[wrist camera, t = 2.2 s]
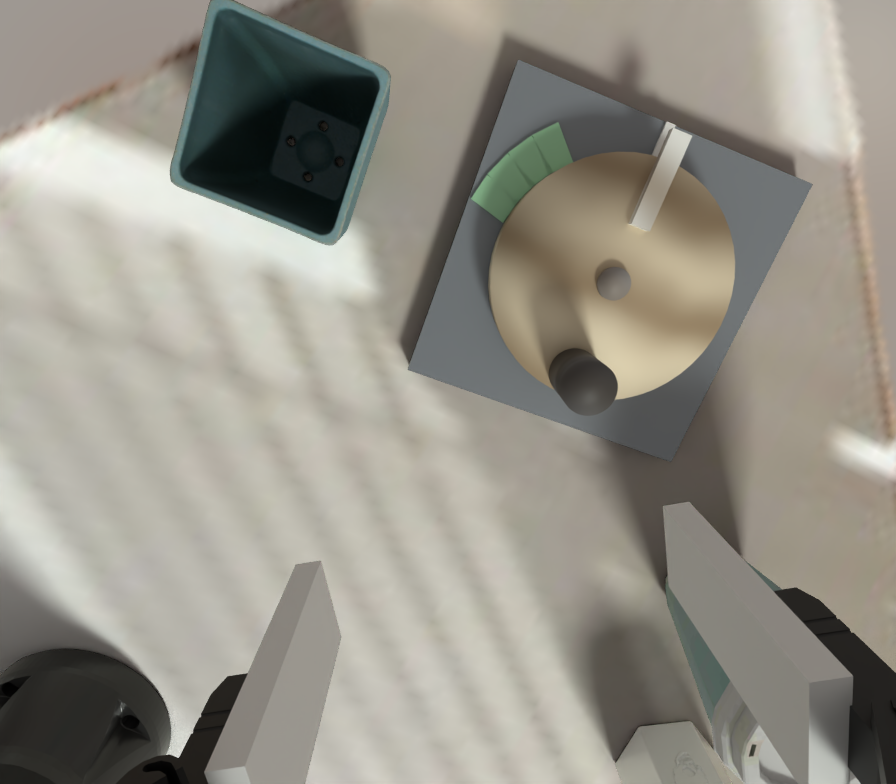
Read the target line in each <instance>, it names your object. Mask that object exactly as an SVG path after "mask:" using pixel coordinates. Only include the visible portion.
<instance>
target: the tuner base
mask: <svg viewBox="0 0 896 784" xmlns="http://www.w3.org/2000/svg"><path fill="white" fill-rule="evenodd" d="M672 128H675V129H678V130H680V131H682V132H685V133H687V134H689V135H692V138H691V140H690V142H689V145H688V147H687V149H686V151H685V154H684V156H683V158H682V160H681V163H680V165H679V166H680V167H681V168H683V169H684V170H686V171H687V172H689V173H690V174H691V175H693V176H694V177H695V178H696V179H697V180H698V181H700V182H701V183H702V184H703V185H704V186H705V187H706V188H707V190H708V191H709V192H710V193H711V195H712V196H713V197H714V199H715V200H716V201H717V203H718V205H719V207H720V209H721V210H722V212H723V214H724V216H725V219H726V221H727V224H728V226H729V229H730V233H731V237H732V241H733V245H734V255H735V279H734V285H733V291H732V296H731V299H730V303H729V306H728V310H727V312H726V315H725V317H724V319H723V322H722V324H721V326H720V328H719V329H718V331H717V333H716V335H715V336H714V338H713V340H712V341H711V342H710V344H709V345H708V346H707V348H706V349H705V350H704V352H703V353H702V354H701V355H700V356H699V357H698V358H697V359H696V360H695V361H694V362H693V364H691V365H690V366H689V367H688V368H687V369H686V370H684V371H683V372H682V373H681V374H679V375H678V376H676V377H675V378H673V379H672V380H670V381H669V382H667V383H666V384H664V385H662V386H660V387H658V388H656V389H654V390H651V391H649V392H646V393H643V394H640V395H637V396H633V397H629V398H624V399H616V400H614V402H613V403H612V404H611V406H610V407H609V408H608V409H606V410H605V411H603V412H602V413H599V414H597V415H592V416H584V415H579V414H577V413H575V412H573V411H572V410H570V409H569V408H568V407H567V405H566V404H565V403H564V401H563V400H562V399H561V397H560V396H559V395H558V393H557V392H556V391H555V390H554V389H552V388H550V387H548V386H547V385H545V384H543V383H542V382H540V381H538V380H537V379H536V378H535V377H533V376H532V375H531V374H530V373H529V372H527V371H526V370H525V369H524V368H523V367H522V365H521V364H520V363H519V362H518V361H517V360H516V359H515V357H514V356H513V355H512V353H511V352H510V350H509V349H508V347H507V346H506V344H505V342H504V341H503V339H502V337H501V335H500V333H499V331H498V329H497V326H496V324H495V321H494V318H493V315H492V311H491V306H490V301H489V290H488V277H489V266H490V261H491V255H492V252H493V248H494V245H495V242H496V239H497V237H498V234H499V232H500V230H501V228H502V226H503V224H504V222H505V220H506V219H507V217H508V216H509V214H510V212H511V211H512V209H513V208H514V207H515V206H516V204H517V203H518V202H519V201H520V199H521V198H522V197H523V196H524V195H525V194H526V193H527V192H528V191H529V190H530V189H531V188H532V187H533V186H535V185H536V184H537V183H539V182H540V181H541V180H543V179H544V178H545V177H547V176H549V175H550V174H552V173H554V172H556V171H557V170H559V169H561V168H563V167H564V166H566V165H568V164H570V163H573V162H575V161H578V160H580V159H583V158H585V157H589V156H593V155H597V154H601V153H610V152H637V153H643V154H649V155H653V156H656V157H658V154H659V152H660V150H661V147H662V145H663V143H664V140H665V138H666V136H667V134H668V131H669V130H670V129H672ZM812 185H813V184H811V183H809V182H806V181H804V180H802V179H799V178H797V177H795V176H792V175H790V174H787V173H785V172H783V171H780V170H778V169H776V168H773V167H771V166H769V165H766V164H764V163H761V162H759V161H757V160H754V159H752V158H750V157H747V156H745V155H743V154H740V153H738V152H735V151H733V150H731V149H728V148H726V147H724V146H721V145H719V144H717V143H714V142H712V141H710V140H707V139H705V138H702V137H700V136H698V135H695V134H693V133H691V132H688V131H686V130H684V129H681V128H679V127H676V125H675V124H672V123H670V122H668V121H667V122H665V121H662V120H660V119H658V118H655V117H653V116H650V115H648V114H646V113H643V112H641V111H639V110H636V109H634V108H632V107H629V106H627V105H625V104H622V103H620V102H617V101H615V100H613V99H610V98H608V97H606V96H603V95H601V94H599V93H596V92H594V91H591V90H589V89H587V88H584V87H582V86H580V85H577V84H575V83H573V82H570V81H568V80H565V79H563V78H561V77H558V76H556V75H554V74H551V73H549V72H547V71H544V70H542V69H540V68H537V67H535V66H532V65H530V64H528V63H525V62H523V61H521V60H518V61H517V64H516V66H515V68H514V71H513V74H512V77H511V80H510V82H509V85H508V88H507V91H506V94H505V97H504V99H503V102H502V105H501V108H500V111H499V113H498V116H497V119H496V122H495V125H494V127H493V130H492V133H491V136H490V139H489V141H488V144H487V147H486V150H485V153H484V156H483V158H482V161H481V164H480V167H479V170H478V172H477V175H476V178H475V181H474V184H473V186H472V189H471V192H470V195H469V198H468V200H467V203H466V206H465V209H464V212H463V214H462V217H461V220H460V223H459V226H458V229H457V231H456V234H455V237H454V240H453V243H452V245H451V248H450V251H449V254H448V257H447V259H446V262H445V265H444V268H443V271H442V273H441V276H440V279H439V282H438V285H437V288H436V290H435V293H434V296H433V299H432V302H431V304H430V307H429V310H428V313H427V316H426V318H425V321H424V324H423V327H422V330H421V332H420V335H419V338H418V341H417V344H416V347H415V349H414V352H413V355H412V358H411V361H410V363H409V367H408V370H410V371H413V372H416V373H419V374H422V375H424V376H427V377H430V378H433V379H436V380H439V381H441V382H444V383H447V384H450V385H453V386H456V387H459V388H461V389H464V390H467V391H470V392H473V393H476V394H478V395H481V396H484V397H487V398H490V399H493V400H496V401H498V402H501V403H504V404H507V405H510V406H513V407H515V408H518V409H521V410H524V411H527V412H530V413H533V414H535V415H538V416H541V417H544V418H547V419H550V420H553V421H555V422H558V423H561V424H564V425H567V426H570V427H572V428H575V429H578V430H581V431H584V432H587V433H590V434H592V435H595V436H598V437H601V438H604V439H607V440H609V441H612V442H615V443H618V444H621V445H624V446H627V447H629V448H632V449H635V450H638V451H641V452H644V453H646V454H649V455H652V456H655V457H658V458H661V459H664V460H666V461H669V462H671V461H672V459H673V457H674V455H675V453H676V451H677V449H678V447H679V445H680V443H681V441H682V439H683V438H684V436H685V434H686V432H687V430H688V428H689V426H690V424H691V422H692V420H693V418H694V416H695V414H696V412H697V410H698V408H699V406H700V404H701V402H702V400H703V398H704V396H705V394H706V392H707V390H708V389H709V387H710V385H711V383H712V381H713V379H714V377H715V375H716V373H717V371H718V369H719V367H720V365H721V363H722V361H723V359H724V357H725V355H726V353H727V351H728V349H729V347H730V345H731V343H732V341H733V340H734V338H735V336H736V334H737V332H738V330H739V328H740V326H741V324H742V322H743V320H744V318H745V316H746V314H747V312H748V310H749V308H750V306H751V304H752V302H753V300H754V298H755V296H756V294H757V292H758V290H759V289H760V287H761V285H762V283H763V281H764V279H765V277H766V275H767V273H768V271H769V269H770V267H771V265H772V263H773V261H774V259H775V257H776V255H777V253H778V251H779V249H780V247H781V245H782V243H783V241H784V240H785V238H786V236H787V234H788V232H789V230H790V228H791V226H792V224H793V222H794V220H795V218H796V216H797V214H798V212H799V210H800V208H801V206H802V204H803V202H804V200H805V198H806V196H807V194H808V192H809V190H810V189H811V187H812Z"/></svg>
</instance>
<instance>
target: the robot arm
mask: <svg viewBox="0 0 896 784" xmlns="http://www.w3.org/2000/svg"><path fill="white" fill-rule="evenodd" d="M663 515H664V529H665V543H666V557H667V571H668V585H669V588H670V589H671V591H672V592H673V594H674V595H675V597H676V598H677V600H678V601H679V603H680V604H681V606H682V607H683V609H684V611H685V612H686V614H687V615H688V617H689V618H690V620H691V621H692V623H693V624H694V626H695V627H696V629H697V630H698V632H699V633H700V635H701V636H702V638H703V640H704V641H705V643H706V644H707V646H708V647H709V649H710V650H711V652H712V653H713V655H714V656H715V658H716V659H717V661H718V662H719V664H720V665H721V667H722V669H723V670H724V672H725V673H726V675H727V676H728V678H729V679H730V681H731V682H732V684H733V685H734V687H735V688H736V690H737V691H738V693H739V695H740V696H741V698H742V699H743V701H744V702H745V704H746V705H747V707H748V708H749V710H750V711H751V713H752V714H753V716H754V717H755V719H756V720H757V722H758V724H759V725H760V727H761V728H762V730H763V731H764V733H765V734H766V736H767V737H768V739H769V740H770V742H771V743H772V745H773V746H774V748H775V749H776V751H777V753H778V754H779V756H780V757H781V759H782V760H783V762H784V763H785V765H786V766H787V768H788V769H789V771H790V772H791V774H792V775H793V777H794V779H795V780H796V782H797V783H798V784H849V783H850V770H851V772H852V773H853V774H854V776H855V777H856V778H857V779H858V781H859V782H860V783H861V784H896V673H895V672H894V671H893V670H892V669H891V668H890V667H889V666H888V665H887V664H886V663H885V662H884V661H883V660H882V659H880V658H879V657H878V656H877V655H876V654H875V653H874V652H873V651H872V650H871V649H870V648H869V647H868V646H867V645H866V644H865V643H864V642H863V641H862V640H861V639H860V638H859V637H857V636H856V635H855V634H854V633H851V631H850V629H849V628H848V627H847V626H846V625H845V624H844V623H843V622H842V621H841V620H840V619H837V618H836V615H834V614H833V613H832V612H831V611H830V610H829V609H828V608H827V607H826V606H825V605H824V604H823V603H822V602H821V601H820V600H818V599H816V598H815V597H813V596H811V595H809V594H807V593H805V592H803V591H802V590H800V589H798V588H790V589H783V590H777V591H773V590H772V589H771V588H770V587H769V586H768V585H767V584H766V583H765V582H764V581H763V580H762V579H761V578H760V577H759V576H758V574H757V573H756V572H755V571H754V570H753V569H752V568H751V567H750V566H749V565H748V564H747V563H746V562H745V561H744V560H743V559H742V557H741V556H740V555H739V554H738V553H737V552H736V551H735V550H734V549H733V548H732V547H731V546H730V545H729V544H728V543H727V542H726V540H725V539H724V538H723V537H722V536H721V535H720V534H719V533H718V532H717V531H716V530H715V529H714V528H713V527H712V526H711V525H710V523H709V522H708V521H707V520H706V519H705V518H704V517H703V516H702V515H701V514H700V513H699V512H698V511H697V510H696V509H695V508H694V506H693V505H692V504H691V503H690V502H684V503H678V504H671V505H665V506H663ZM340 640H341V634H340V630H339V626H338V623H337V619H336V615H335V611H334V608H333V604H332V600H331V596H330V593H329V589H328V585H327V581H326V578H325V574H324V570H323V567H322V563H321V561H315V562H309V563H303V564H297V565H296V566H295V568H294V570H293V572H292V575H291V577H290V579H289V581H288V584H287V586H286V588H285V590H284V593H283V595H282V597H281V599H280V602H279V604H278V606H277V609H276V611H275V613H274V615H273V618H272V620H271V622H270V624H269V627H268V629H267V631H266V633H265V636H264V638H263V640H262V642H261V645H260V647H259V649H258V651H257V654H256V656H255V658H254V661H253V663H252V665H251V667H250V670H249V672H248V673H247V674H240V675H234V676H228V677H227V678H226V679H225V680H224V681H223V682H222V683H221V684H220V685H219V686H218V687H217V689H216V690H215V691H214V692H213V693H212V694H211V695H210V697H209V699H208V701H207V703H206V705H205V707H204V709H203V711H202V713H201V718H199V719H198V721H197V723H196V725H195V727H194V729H193V734H191V735H190V737H189V739H188V741H187V743H186V745H185V747H184V749H183V751H182V753H181V755H180V757H179V758H177V757H174V756H172V755H166V753H167V751H168V748H169V744H170V739H171V725H170V719H169V715H168V712H167V710H166V707H165V705H164V703H163V701H162V700H161V698H160V696H159V695H158V694H157V692H156V691H155V690H154V688H153V687H152V686H151V685H150V684H149V683H148V682H147V681H146V680H145V679H144V678H143V677H141V676H140V675H139V674H138V673H136V672H135V671H133V670H132V669H130V668H129V667H127V666H125V665H124V664H122V663H120V662H118V661H116V660H113V659H111V658H109V657H106V656H103V655H100V654H96V653H92V652H87V651H81V650H71V649H60V650H49V651H44V652H39V653H36V654H33V655H30V656H27V657H25V658H23V659H21V660H19V661H17V662H16V663H14V664H13V665H11V666H10V667H9V668H8V669H7V670H6V671H5V672H4V673H3V674H2V675H1V676H0V784H305V782H306V778H307V774H308V770H309V765H310V761H311V757H312V753H313V749H314V745H315V741H316V737H317V733H318V729H319V725H320V721H321V717H322V713H323V709H324V705H325V701H326V697H327V693H328V689H329V685H330V681H331V677H332V673H333V669H334V665H335V661H336V657H337V653H338V649H339V645H340Z"/></svg>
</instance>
